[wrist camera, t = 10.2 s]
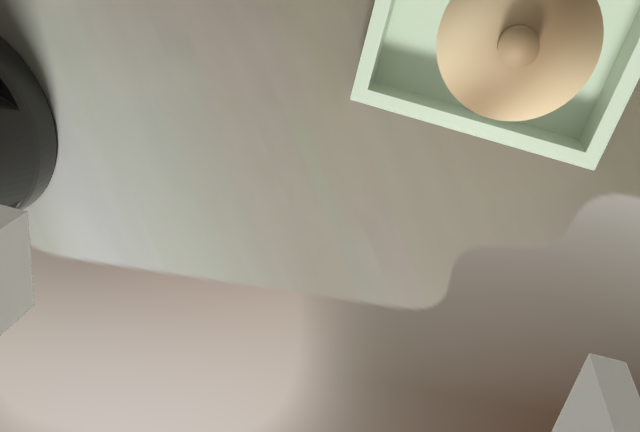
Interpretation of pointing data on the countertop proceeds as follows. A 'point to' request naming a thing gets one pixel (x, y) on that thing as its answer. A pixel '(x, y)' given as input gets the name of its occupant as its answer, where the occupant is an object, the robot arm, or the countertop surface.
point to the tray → (445, 110)
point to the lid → (518, 54)
